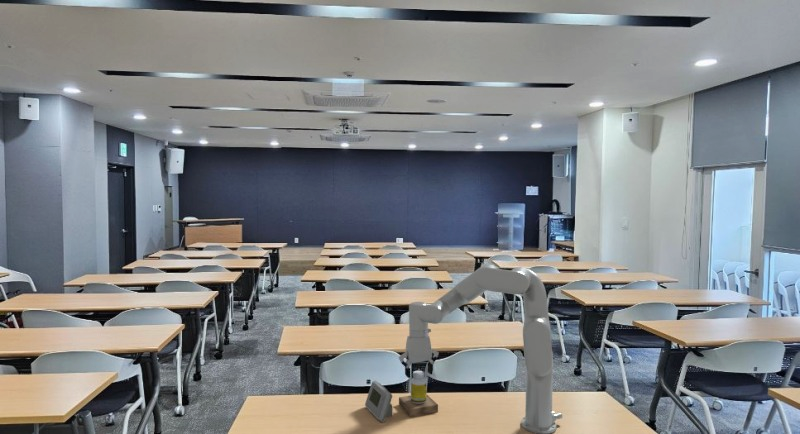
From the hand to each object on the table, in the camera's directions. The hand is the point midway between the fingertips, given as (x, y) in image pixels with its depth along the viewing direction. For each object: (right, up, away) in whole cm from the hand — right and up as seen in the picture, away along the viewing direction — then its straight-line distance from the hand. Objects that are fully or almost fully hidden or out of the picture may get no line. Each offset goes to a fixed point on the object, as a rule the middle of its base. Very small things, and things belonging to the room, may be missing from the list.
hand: (419, 375), depth 186 cm
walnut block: (0, -14, +1) cm, 14 cm away
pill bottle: (0, -11, 0) cm, 11 cm away
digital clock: (-16, -14, -4) cm, 22 cm away
